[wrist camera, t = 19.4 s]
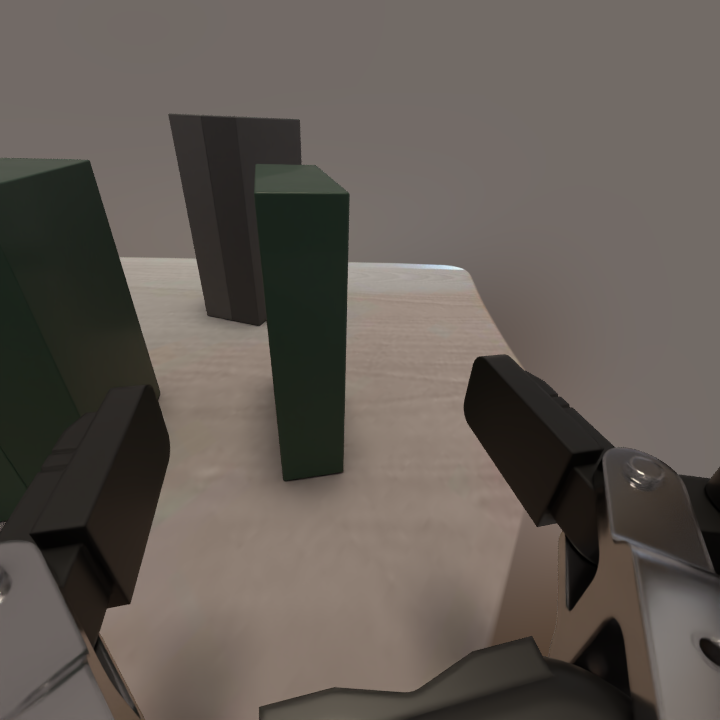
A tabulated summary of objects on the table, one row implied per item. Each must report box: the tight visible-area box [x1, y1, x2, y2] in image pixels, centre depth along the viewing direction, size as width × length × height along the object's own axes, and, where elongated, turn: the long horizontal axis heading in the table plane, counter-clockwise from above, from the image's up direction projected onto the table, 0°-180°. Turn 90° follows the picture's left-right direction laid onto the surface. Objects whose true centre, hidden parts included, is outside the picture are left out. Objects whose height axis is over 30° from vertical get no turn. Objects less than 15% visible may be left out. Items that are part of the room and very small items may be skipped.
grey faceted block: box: [169, 114, 301, 325], centre depth 35 cm, size 6×10×16 cm, turn 162°
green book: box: [254, 164, 349, 481], centre depth 20 cm, size 3×9×14 cm, turn 13°
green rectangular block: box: [0, 158, 160, 522], centre depth 17 cm, size 6×9×14 cm
